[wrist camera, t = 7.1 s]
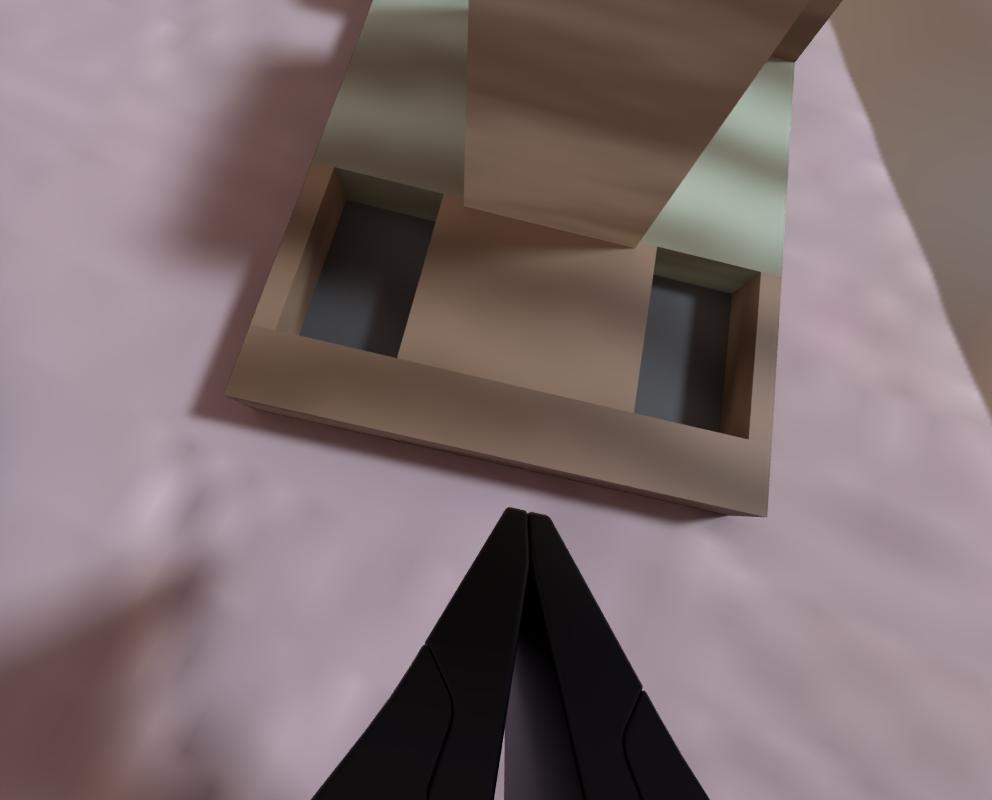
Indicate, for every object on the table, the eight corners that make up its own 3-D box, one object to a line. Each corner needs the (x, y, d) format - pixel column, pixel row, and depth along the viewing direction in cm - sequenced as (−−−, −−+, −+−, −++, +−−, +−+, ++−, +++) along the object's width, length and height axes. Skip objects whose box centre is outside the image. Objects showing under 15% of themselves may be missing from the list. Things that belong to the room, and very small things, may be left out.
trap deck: (729, 515, 20) (828, 520, 15) (252, 408, 19) (175, 372, 14) (763, 90, 26) (842, -15, 21) (400, -5, 25) (386, -140, 20)
